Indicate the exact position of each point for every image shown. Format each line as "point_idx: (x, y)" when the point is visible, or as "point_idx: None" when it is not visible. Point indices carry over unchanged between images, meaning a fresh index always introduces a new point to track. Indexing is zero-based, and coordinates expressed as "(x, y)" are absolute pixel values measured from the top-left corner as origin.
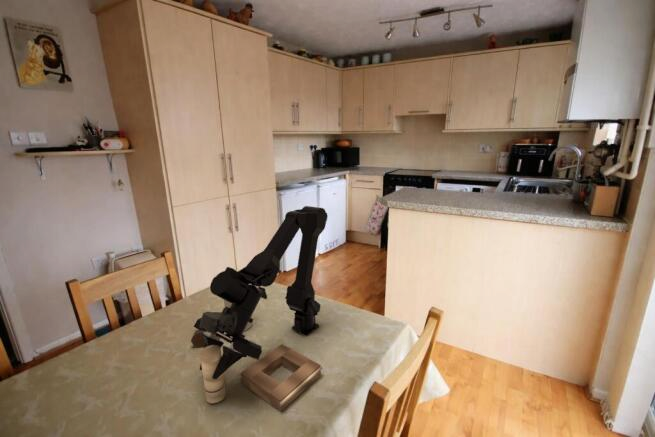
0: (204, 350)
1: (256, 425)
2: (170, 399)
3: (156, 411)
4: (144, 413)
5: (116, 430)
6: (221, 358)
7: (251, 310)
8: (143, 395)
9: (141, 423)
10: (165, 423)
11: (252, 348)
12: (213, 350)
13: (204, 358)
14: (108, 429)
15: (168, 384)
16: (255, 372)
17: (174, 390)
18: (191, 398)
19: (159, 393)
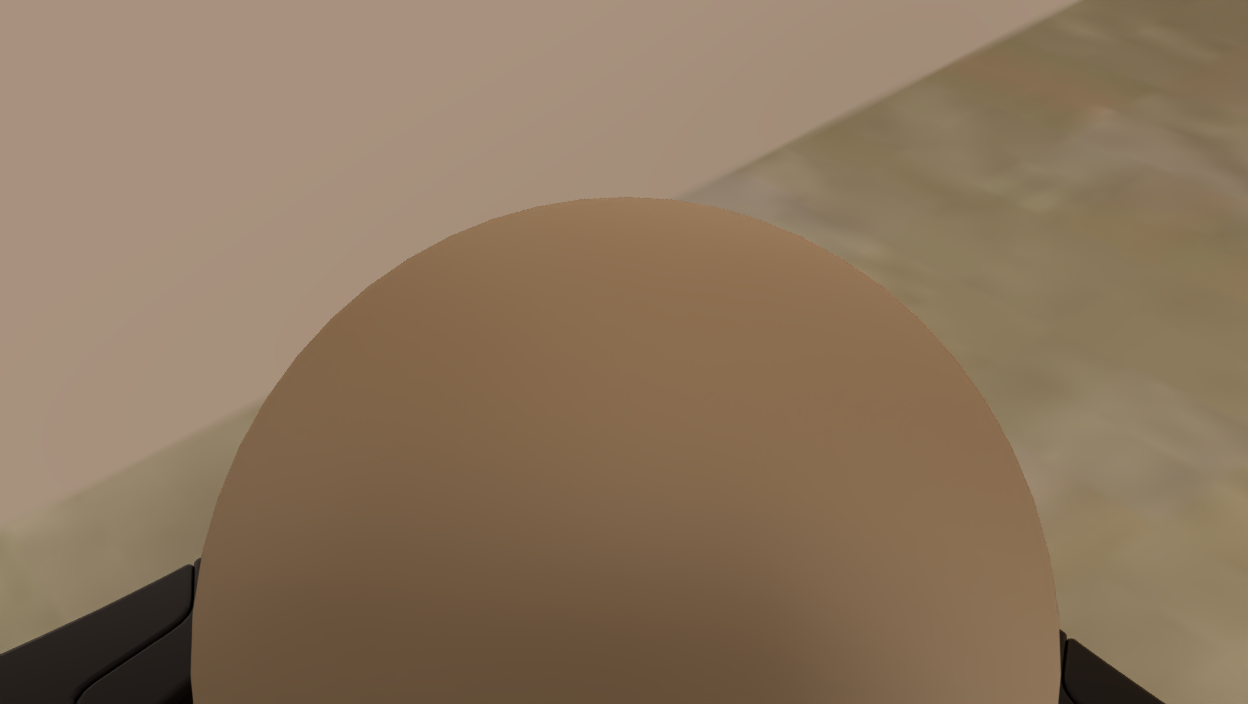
0: (885, 469)
1: (30, 576)
2: (980, 372)
3: (941, 247)
4: (996, 196)
5: (991, 50)
6: (186, 661)
7: None
8: (1216, 284)
9: (915, 144)
10: (767, 221)
11: None
12: (542, 666)
13: (522, 220)
14: (1042, 33)
15: (1201, 474)
16: None
17: (1067, 456)
18: None
19: (1135, 364)
